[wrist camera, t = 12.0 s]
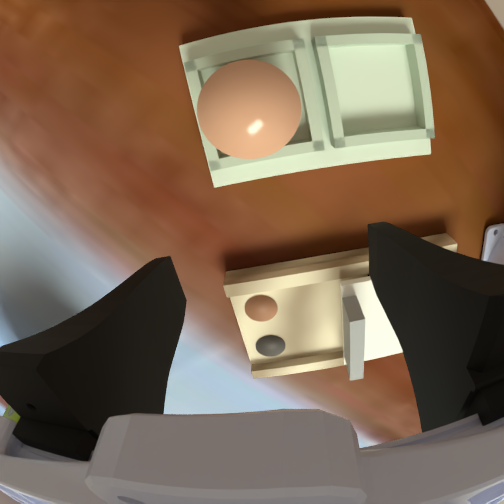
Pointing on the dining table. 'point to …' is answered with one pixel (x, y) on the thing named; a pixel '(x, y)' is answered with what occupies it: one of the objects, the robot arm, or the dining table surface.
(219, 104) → the peg
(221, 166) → the socket board
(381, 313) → the lid
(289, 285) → the plate
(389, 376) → the dining table surface
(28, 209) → the dining table surface
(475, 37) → the dining table surface
